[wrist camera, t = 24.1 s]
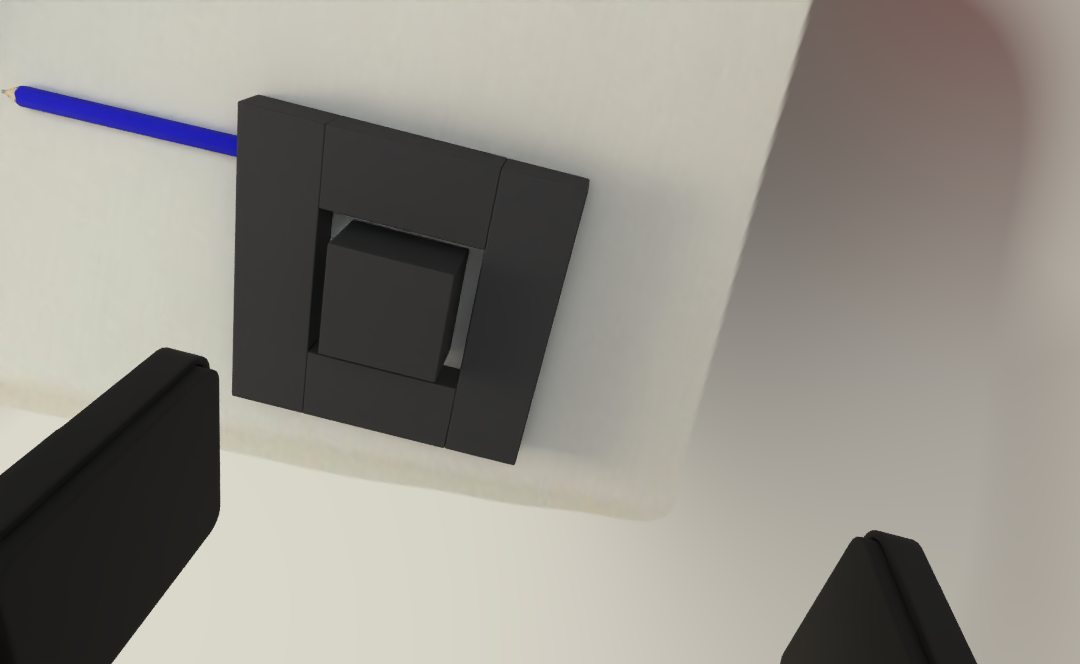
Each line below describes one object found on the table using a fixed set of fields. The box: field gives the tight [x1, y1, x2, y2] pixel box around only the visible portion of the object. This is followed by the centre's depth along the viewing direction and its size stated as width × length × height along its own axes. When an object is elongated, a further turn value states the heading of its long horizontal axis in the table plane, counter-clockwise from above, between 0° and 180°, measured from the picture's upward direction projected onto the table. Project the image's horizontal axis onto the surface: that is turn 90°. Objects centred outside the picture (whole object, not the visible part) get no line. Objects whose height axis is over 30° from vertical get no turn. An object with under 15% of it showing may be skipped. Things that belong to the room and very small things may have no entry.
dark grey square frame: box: [232, 95, 589, 465], centre depth 36 cm, size 16×16×2 cm
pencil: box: [2, 86, 237, 157], centre depth 34 cm, size 17×1×1 cm, turn 78°
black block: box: [318, 220, 469, 382], centre depth 35 cm, size 6×6×4 cm
